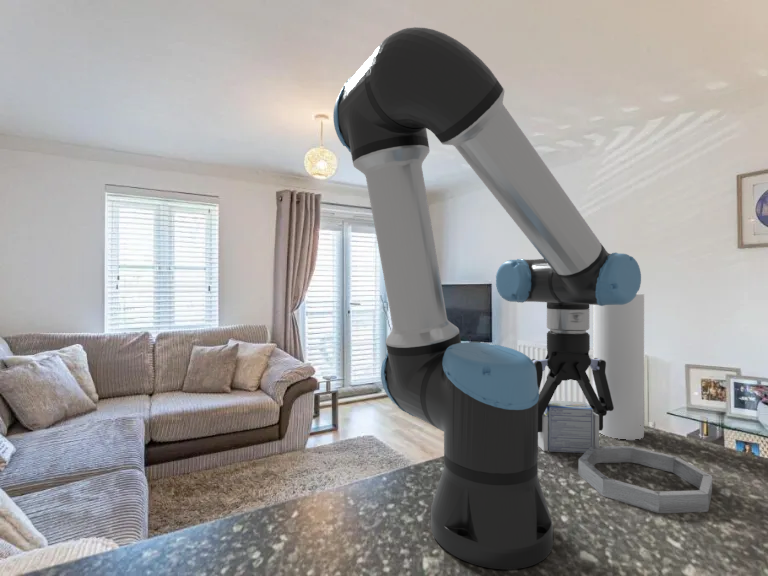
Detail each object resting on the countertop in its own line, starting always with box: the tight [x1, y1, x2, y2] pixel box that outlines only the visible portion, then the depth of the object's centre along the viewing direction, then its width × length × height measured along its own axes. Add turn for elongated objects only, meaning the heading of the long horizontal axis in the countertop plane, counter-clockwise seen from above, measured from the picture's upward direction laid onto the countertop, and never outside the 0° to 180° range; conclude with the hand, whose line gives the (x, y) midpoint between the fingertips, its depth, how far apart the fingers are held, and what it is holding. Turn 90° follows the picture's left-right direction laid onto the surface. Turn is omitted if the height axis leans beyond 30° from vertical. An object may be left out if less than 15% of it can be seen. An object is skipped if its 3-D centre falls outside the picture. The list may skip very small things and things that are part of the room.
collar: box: [577, 445, 713, 514], centre depth 66 cm, size 17×17×2 cm
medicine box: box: [544, 400, 593, 454], centre depth 79 cm, size 8×4×9 cm, turn 82°
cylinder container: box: [592, 292, 645, 441], centre depth 88 cm, size 9×9×30 cm
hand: (568, 447), depth 79 cm, fingers open, 9 cm apart
